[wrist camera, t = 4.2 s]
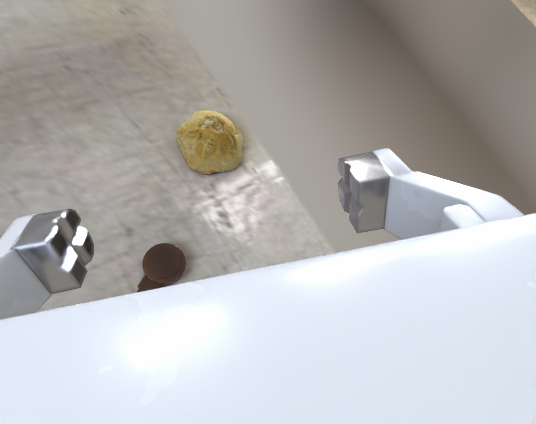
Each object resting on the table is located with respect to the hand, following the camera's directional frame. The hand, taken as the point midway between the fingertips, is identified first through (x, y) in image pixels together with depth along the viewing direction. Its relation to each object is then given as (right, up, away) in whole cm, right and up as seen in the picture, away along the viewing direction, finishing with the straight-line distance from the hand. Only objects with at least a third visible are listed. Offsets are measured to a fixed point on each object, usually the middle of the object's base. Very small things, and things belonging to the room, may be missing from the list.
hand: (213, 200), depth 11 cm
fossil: (-8, +10, +42) cm, 44 cm away
